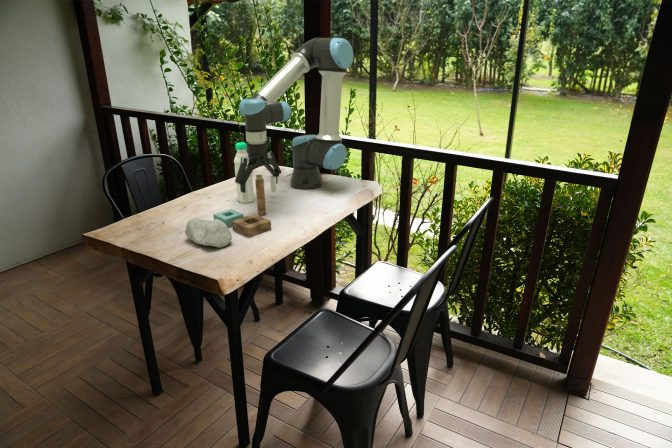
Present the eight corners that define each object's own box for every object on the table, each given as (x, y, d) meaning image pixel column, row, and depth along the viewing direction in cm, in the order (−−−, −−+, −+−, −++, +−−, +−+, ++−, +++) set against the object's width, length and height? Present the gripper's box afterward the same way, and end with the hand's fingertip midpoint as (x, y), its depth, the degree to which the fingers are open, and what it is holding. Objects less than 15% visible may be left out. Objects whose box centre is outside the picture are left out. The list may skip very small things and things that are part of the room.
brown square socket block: (255, 222, 178) (254, 213, 176) (271, 229, 171) (270, 220, 170) (232, 229, 171) (231, 221, 170) (248, 237, 165) (248, 228, 163)
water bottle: (250, 203, 197) (246, 145, 187) (235, 202, 198) (229, 144, 189) (256, 198, 203) (252, 141, 194) (241, 197, 205) (236, 140, 195)
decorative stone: (240, 233, 162) (224, 216, 154) (225, 257, 157) (209, 241, 150) (204, 227, 170) (188, 210, 163) (190, 249, 166) (173, 234, 159)
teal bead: (232, 217, 183) (231, 208, 182) (244, 222, 178) (243, 213, 176) (214, 222, 178) (213, 214, 176) (225, 228, 173) (225, 219, 171)
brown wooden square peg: (262, 212, 188) (260, 173, 182) (267, 214, 186) (265, 175, 180) (256, 214, 186) (253, 175, 180) (261, 216, 184) (258, 177, 177)
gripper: (234, 149, 164) (238, 206, 172) (288, 138, 180) (290, 191, 188) (222, 145, 169) (227, 201, 177) (276, 135, 185) (279, 187, 193)
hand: (260, 196), depth 183 cm, fingers open, 13 cm apart
